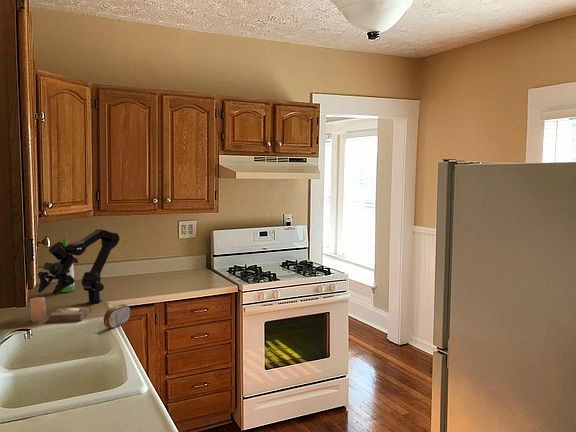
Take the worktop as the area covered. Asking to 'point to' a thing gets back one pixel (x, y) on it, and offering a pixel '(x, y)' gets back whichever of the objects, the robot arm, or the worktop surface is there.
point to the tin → (117, 316)
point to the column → (38, 309)
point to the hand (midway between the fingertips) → (45, 293)
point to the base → (69, 314)
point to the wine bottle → (71, 287)
